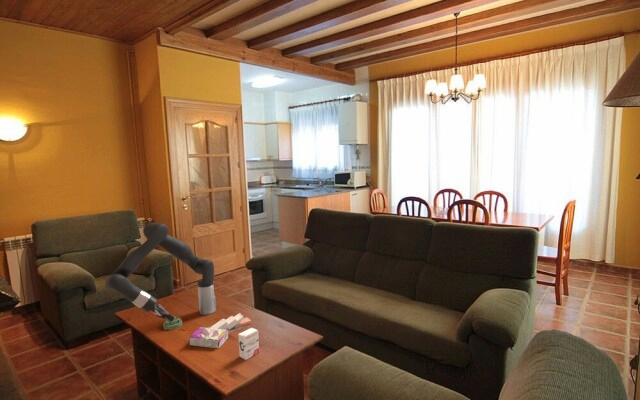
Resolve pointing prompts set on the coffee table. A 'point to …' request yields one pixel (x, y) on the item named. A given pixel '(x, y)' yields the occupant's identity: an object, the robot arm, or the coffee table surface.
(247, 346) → the ink box
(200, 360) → the coffee table surface
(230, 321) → the domino
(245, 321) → the domino
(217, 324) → the domino
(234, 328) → the mat
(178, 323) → the decorative artifact
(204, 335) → the candy bar box
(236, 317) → the domino
